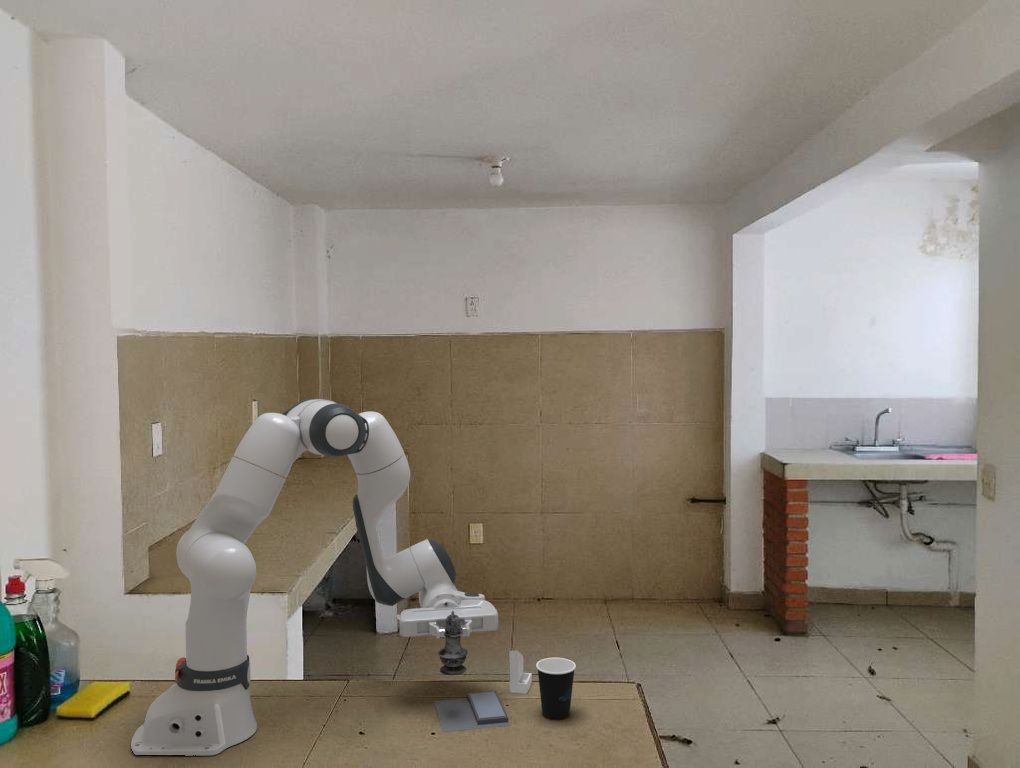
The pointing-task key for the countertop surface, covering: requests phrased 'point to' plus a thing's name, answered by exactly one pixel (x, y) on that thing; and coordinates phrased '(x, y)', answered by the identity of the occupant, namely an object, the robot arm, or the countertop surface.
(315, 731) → the countertop surface
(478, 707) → the phone
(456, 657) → the stone finial ornament
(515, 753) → the countertop surface
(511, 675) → the white angled block
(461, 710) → the mat
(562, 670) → the dixie cup
